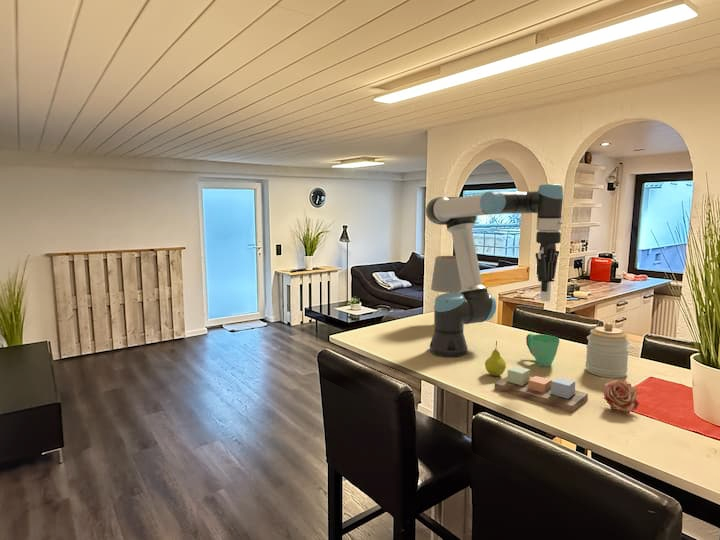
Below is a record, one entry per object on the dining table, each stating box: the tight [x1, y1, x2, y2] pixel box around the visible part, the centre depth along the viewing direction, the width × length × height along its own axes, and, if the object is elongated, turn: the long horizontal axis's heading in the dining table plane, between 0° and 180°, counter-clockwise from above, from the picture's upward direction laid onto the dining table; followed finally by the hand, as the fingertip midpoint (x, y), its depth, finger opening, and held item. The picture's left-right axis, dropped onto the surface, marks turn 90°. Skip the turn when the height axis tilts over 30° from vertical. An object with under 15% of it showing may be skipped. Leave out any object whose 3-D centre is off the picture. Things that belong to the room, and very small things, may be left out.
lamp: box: [430, 255, 462, 293], centre depth 222 cm, size 19×19×34 cm
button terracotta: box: [528, 375, 553, 393], centre depth 138 cm, size 5×5×4 cm
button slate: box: [551, 376, 576, 400], centre depth 132 cm, size 5×5×4 cm
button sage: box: [506, 365, 531, 387], centre depth 142 cm, size 5×5×4 cm
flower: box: [602, 378, 640, 415], centre depth 127 cm, size 10×9×8 cm
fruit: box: [484, 340, 507, 377], centre depth 153 cm, size 7×7×12 cm
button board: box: [494, 376, 589, 413], centre depth 138 cm, size 24×12×2 cm, turn 44°
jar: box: [585, 322, 630, 379], centre depth 155 cm, size 13×13×18 cm
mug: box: [525, 333, 560, 367], centre depth 167 cm, size 15×10×10 cm
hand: (545, 300), depth 151 cm, fingers closed
